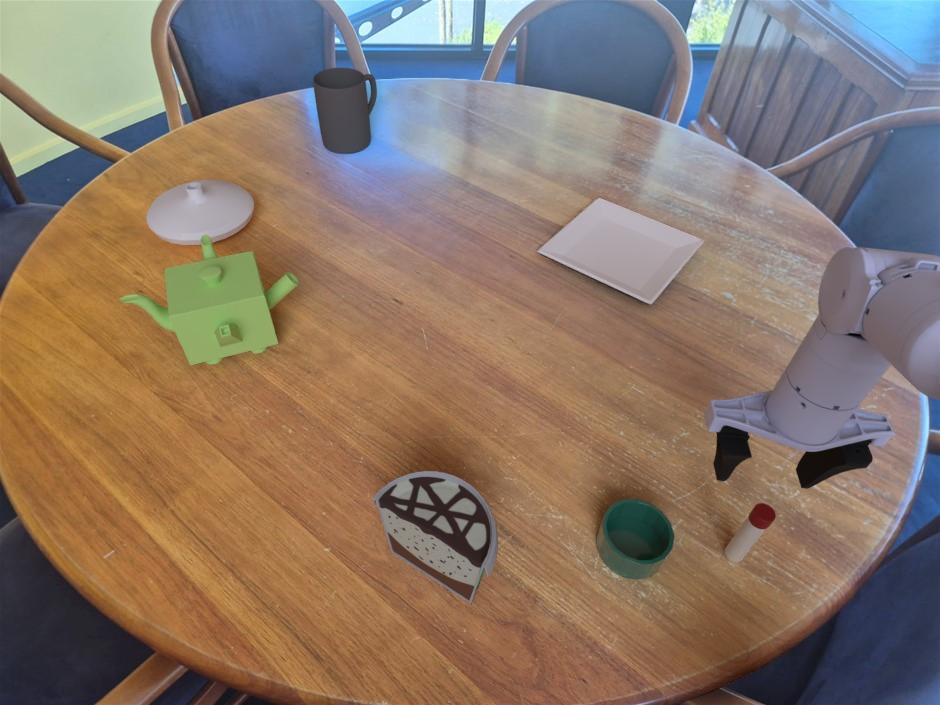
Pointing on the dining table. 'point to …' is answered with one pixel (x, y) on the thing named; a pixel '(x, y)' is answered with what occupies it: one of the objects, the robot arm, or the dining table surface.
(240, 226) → the grey lid
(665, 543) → the thermos cup
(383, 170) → the dining table surface
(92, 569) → the dining table surface
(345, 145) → the mug
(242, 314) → the kettle
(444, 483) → the cake slice
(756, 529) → the marker
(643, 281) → the plate
